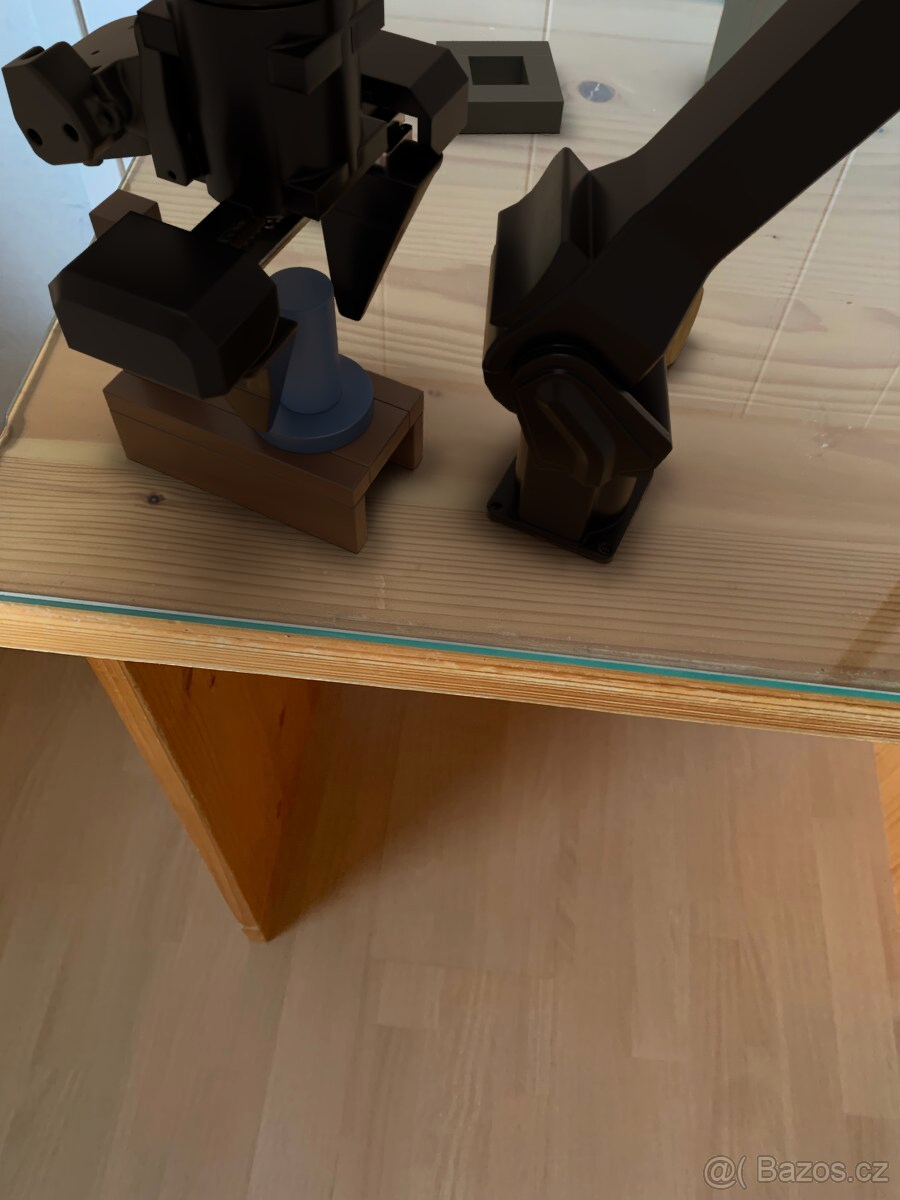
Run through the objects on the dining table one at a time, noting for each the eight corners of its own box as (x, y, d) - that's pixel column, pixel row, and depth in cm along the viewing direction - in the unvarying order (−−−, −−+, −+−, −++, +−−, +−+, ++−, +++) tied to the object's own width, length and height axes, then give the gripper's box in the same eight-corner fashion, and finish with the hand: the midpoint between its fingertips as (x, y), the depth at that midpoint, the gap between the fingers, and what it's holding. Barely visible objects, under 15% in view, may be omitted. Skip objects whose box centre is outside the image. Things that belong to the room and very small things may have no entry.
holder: (560, 133, 64) (564, 100, 62) (443, 133, 63) (444, 101, 61) (544, 72, 68) (548, 40, 66) (435, 72, 68) (436, 40, 66)
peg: (373, 507, 44) (365, 338, 35) (253, 504, 43) (216, 334, 35) (378, 420, 47) (372, 246, 38) (266, 417, 47) (235, 242, 38)
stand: (357, 554, 43) (341, 353, 33) (125, 457, 46) (47, 245, 36) (423, 457, 47) (426, 249, 37) (204, 372, 50) (152, 158, 40)
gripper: (206, -189, 34) (263, 202, 47) (-202, 31, 24) (11, 447, 37) (486, -124, 31) (464, 270, 44) (156, 149, 22) (250, 550, 35)
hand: (307, 369), depth 40 cm, fingers open, 7 cm apart
